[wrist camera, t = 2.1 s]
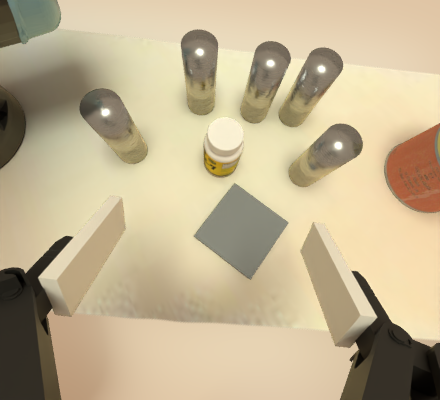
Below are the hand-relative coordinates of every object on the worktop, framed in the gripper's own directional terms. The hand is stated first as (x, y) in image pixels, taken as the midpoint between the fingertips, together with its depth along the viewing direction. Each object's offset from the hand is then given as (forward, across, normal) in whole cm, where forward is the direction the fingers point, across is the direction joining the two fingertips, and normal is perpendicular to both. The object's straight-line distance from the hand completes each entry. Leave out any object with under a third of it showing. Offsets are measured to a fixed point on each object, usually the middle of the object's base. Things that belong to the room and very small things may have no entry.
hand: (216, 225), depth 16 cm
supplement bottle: (+18, 0, -3) cm, 18 cm away
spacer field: (+20, +1, -1) cm, 20 cm away
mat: (+11, +4, -9) cm, 15 cm away
